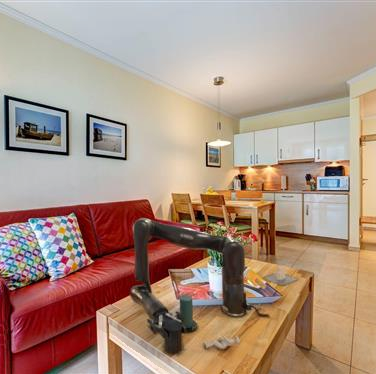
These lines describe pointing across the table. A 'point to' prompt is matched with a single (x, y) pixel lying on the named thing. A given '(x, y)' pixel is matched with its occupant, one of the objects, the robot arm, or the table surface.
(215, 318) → the table surface
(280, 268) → the architectural model
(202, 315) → the table surface
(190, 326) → the green post with base
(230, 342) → the soldier figure
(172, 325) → the black cylinder
